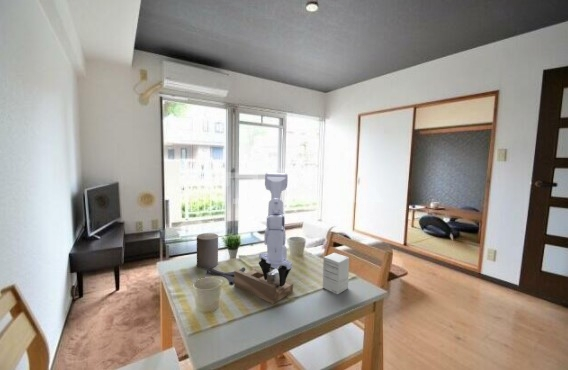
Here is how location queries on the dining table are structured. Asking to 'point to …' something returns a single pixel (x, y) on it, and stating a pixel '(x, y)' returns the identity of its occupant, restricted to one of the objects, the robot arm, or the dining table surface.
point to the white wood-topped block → (273, 277)
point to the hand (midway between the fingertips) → (274, 282)
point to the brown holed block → (261, 286)
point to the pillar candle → (207, 250)
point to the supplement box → (335, 273)
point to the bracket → (224, 274)
